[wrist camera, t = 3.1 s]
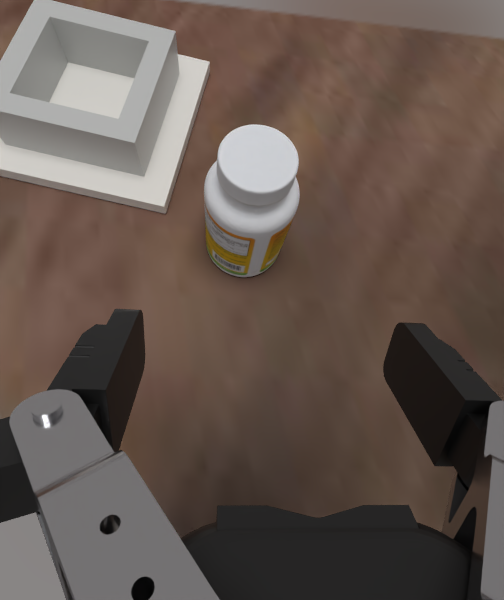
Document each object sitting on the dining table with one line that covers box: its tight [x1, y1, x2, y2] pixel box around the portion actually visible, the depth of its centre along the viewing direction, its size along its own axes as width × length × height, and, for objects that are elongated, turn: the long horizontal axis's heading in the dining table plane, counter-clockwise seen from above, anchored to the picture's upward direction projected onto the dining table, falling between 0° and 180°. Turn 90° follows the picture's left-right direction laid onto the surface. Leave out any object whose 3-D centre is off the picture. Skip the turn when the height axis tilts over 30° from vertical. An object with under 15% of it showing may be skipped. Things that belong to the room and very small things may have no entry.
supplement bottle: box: [204, 125, 300, 277], centre depth 22 cm, size 5×5×10 cm
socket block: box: [0, 0, 210, 214], centre depth 27 cm, size 14×14×4 cm
